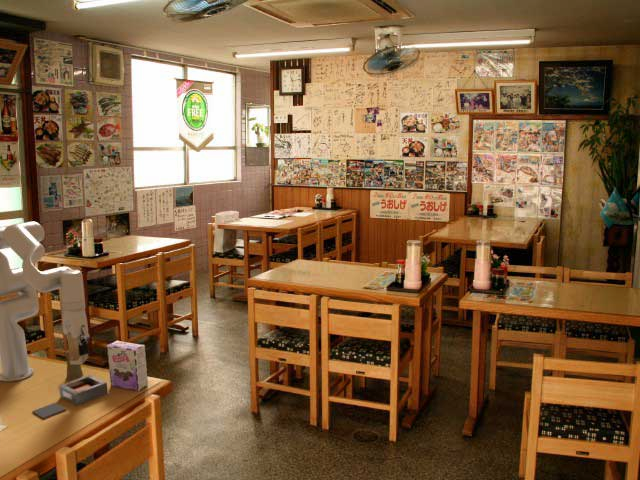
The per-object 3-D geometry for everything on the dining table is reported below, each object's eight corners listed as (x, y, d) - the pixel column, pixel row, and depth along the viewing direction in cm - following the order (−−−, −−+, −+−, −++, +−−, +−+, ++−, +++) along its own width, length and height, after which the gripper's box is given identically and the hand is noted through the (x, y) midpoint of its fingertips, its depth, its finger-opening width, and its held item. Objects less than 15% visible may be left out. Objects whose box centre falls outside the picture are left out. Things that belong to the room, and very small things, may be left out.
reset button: (70, 395, 220) (69, 390, 220) (88, 389, 226) (87, 384, 225) (80, 400, 216) (79, 395, 215) (98, 394, 221) (97, 388, 221)
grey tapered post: (77, 379, 235) (74, 353, 233) (63, 378, 236) (60, 352, 234) (86, 373, 241) (83, 347, 239) (72, 372, 242) (69, 346, 240)
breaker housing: (59, 397, 220) (58, 385, 219) (90, 385, 229) (89, 374, 228) (76, 406, 212) (75, 394, 211) (107, 394, 221) (106, 382, 221)
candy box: (110, 386, 228) (105, 344, 225) (121, 380, 234) (117, 339, 231) (138, 391, 223) (134, 349, 219) (149, 385, 228) (145, 344, 225)
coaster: (32, 412, 209) (32, 411, 208) (55, 404, 215) (54, 402, 214) (43, 419, 203) (43, 417, 203) (66, 410, 209) (66, 408, 209)
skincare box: (77, 357, 222) (74, 326, 219) (88, 358, 222) (85, 326, 219) (69, 365, 215) (66, 332, 213) (81, 365, 215) (78, 332, 213)
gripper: (51, 302, 217) (56, 349, 221) (76, 312, 206) (80, 361, 210) (71, 297, 223) (76, 343, 226) (96, 306, 212) (100, 354, 215)
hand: (78, 351), depth 218 cm, fingers closed on skincare box, 7 cm apart
